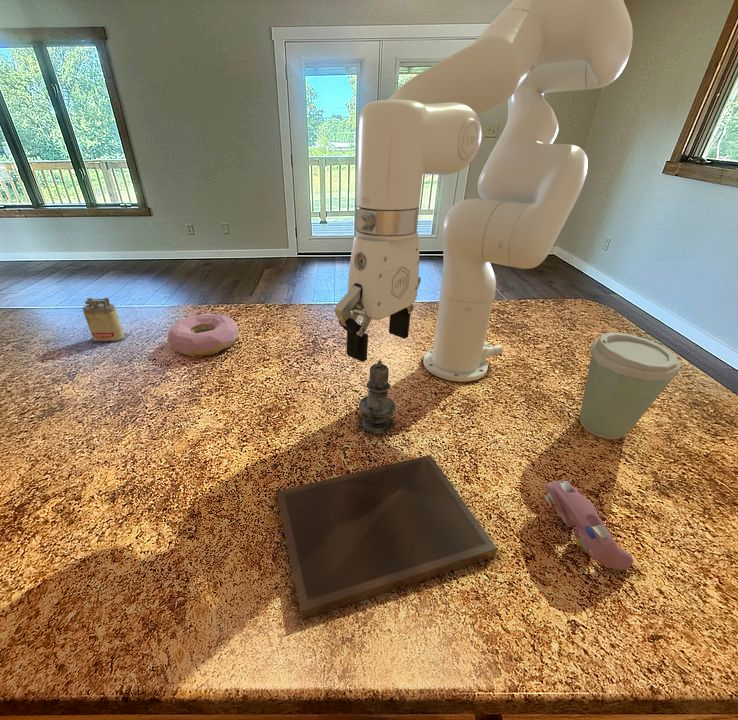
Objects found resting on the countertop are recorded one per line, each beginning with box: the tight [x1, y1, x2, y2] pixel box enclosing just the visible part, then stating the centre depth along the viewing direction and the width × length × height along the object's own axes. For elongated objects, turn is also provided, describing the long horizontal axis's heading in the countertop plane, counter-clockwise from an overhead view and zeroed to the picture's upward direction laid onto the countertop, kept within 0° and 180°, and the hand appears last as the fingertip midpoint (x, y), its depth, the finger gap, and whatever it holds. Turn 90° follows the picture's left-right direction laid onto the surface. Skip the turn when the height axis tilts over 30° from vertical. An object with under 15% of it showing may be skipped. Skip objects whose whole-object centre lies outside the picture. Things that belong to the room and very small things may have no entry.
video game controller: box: [544, 480, 634, 571], centre depth 43 cm, size 10×5×7 cm, turn 5°
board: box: [276, 454, 498, 620], centre depth 45 cm, size 22×15×2 cm
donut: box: [166, 312, 239, 357], centre depth 86 cm, size 16×15×5 cm
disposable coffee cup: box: [578, 331, 681, 440], centre depth 57 cm, size 11×11×15 cm
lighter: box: [82, 297, 126, 342], centre depth 88 cm, size 7×4×10 cm, turn 91°
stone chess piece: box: [358, 359, 397, 434], centre depth 59 cm, size 6×6×12 cm
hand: (378, 346), depth 55 cm, fingers open, 9 cm apart
